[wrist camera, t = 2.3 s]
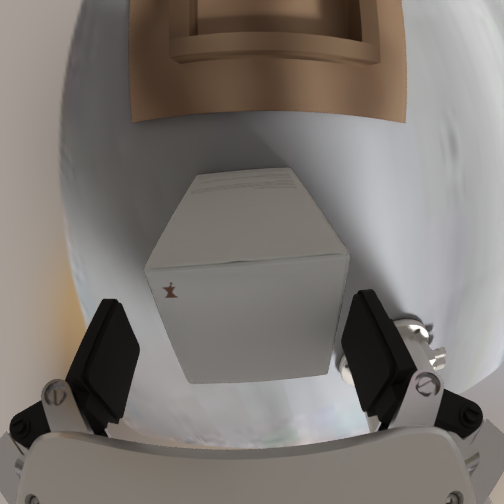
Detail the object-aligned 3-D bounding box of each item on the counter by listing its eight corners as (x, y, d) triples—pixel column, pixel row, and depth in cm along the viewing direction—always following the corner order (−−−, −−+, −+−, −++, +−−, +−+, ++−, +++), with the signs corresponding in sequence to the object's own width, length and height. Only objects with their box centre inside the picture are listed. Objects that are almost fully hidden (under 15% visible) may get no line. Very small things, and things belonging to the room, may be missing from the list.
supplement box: (207, 257, 24) (183, 386, 13) (195, 172, 20) (135, 265, 9) (294, 252, 23) (329, 378, 13) (294, 165, 20) (354, 251, 9)
